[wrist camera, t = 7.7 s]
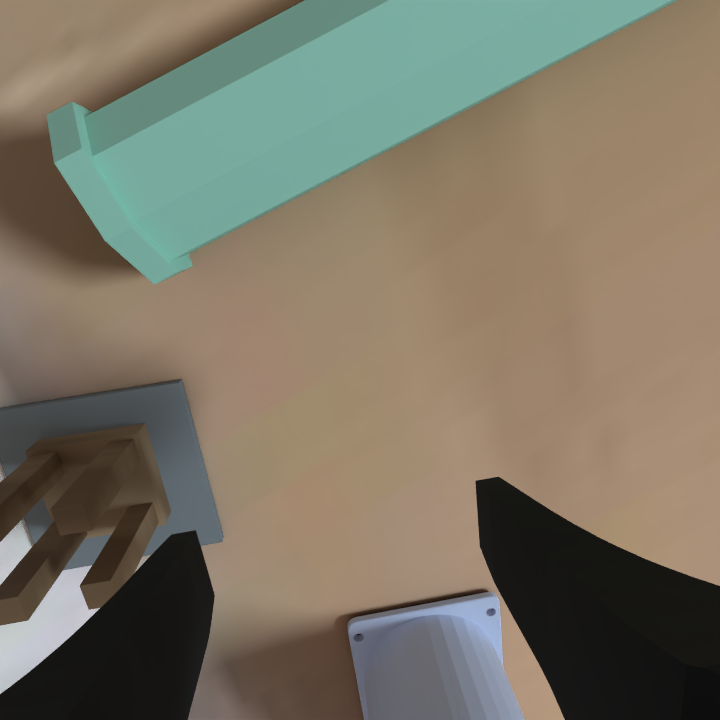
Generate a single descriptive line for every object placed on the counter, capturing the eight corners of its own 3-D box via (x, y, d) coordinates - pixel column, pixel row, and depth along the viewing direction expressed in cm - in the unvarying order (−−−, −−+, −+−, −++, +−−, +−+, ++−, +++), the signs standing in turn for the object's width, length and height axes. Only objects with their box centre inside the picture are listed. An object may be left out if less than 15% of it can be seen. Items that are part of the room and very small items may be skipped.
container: (978, -372, 11) (18, 139, 11) (885, -51, 15) (169, 318, 15) (745, -264, 15) (66, 97, 16) (720, -41, 19) (174, 244, 20)
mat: (223, 536, 22) (222, 541, 22) (51, 566, 22) (46, 573, 22) (181, 379, 20) (179, 382, 20) (-13, 410, 20) (-20, 414, 19)
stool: (171, 511, 21) (126, 607, 16) (71, 528, 21) (-7, 631, 16) (145, 423, 20) (87, 497, 15) (38, 440, 20) (-60, 521, 15)
